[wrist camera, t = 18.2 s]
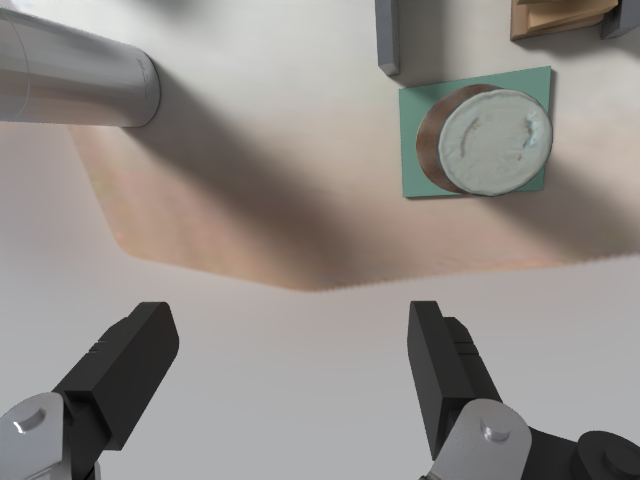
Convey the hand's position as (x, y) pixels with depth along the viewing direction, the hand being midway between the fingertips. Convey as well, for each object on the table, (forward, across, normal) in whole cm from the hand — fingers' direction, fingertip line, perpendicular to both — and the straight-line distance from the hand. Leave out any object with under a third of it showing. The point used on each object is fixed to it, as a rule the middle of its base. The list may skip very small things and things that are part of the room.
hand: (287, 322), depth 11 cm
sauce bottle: (+24, -12, -1) cm, 27 cm away
